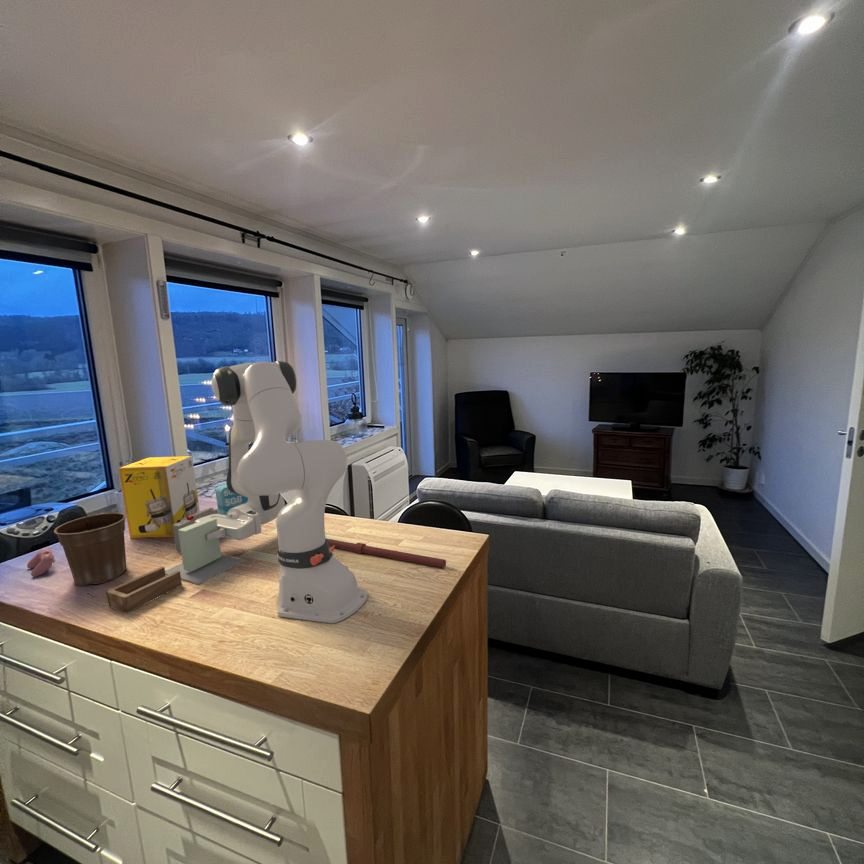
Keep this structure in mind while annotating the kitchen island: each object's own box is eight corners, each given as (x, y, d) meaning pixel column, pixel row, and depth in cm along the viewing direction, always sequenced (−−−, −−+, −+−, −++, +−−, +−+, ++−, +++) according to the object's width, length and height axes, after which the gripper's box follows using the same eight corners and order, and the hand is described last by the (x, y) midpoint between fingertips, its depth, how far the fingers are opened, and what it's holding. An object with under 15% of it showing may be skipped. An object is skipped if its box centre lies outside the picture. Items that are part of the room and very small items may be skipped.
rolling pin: (313, 547, 143) (313, 537, 142) (320, 543, 146) (319, 534, 145) (442, 571, 123) (442, 560, 123) (447, 566, 126) (446, 556, 125)
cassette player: (182, 553, 142) (178, 522, 140) (176, 552, 143) (171, 522, 141) (220, 533, 156) (217, 506, 154) (214, 533, 157) (211, 505, 155)
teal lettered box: (224, 519, 171) (221, 488, 169) (218, 517, 173) (214, 487, 171) (253, 509, 180) (250, 480, 178) (246, 507, 183) (243, 479, 181)
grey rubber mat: (244, 561, 134) (244, 559, 134) (198, 584, 121) (198, 583, 121) (207, 552, 141) (207, 551, 141) (161, 573, 128) (161, 572, 128)
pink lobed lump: (49, 578, 131) (59, 554, 133) (30, 577, 128) (40, 553, 129) (44, 568, 138) (53, 546, 139) (25, 567, 135) (35, 544, 136)
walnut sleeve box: (182, 585, 121) (180, 571, 120) (127, 613, 108) (124, 597, 108) (163, 579, 124) (161, 566, 124) (108, 606, 112) (105, 591, 111)
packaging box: (176, 536, 155) (166, 466, 151) (130, 538, 155) (118, 468, 151) (200, 519, 171) (192, 455, 167) (158, 521, 171) (149, 457, 167)
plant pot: (50, 585, 124) (39, 530, 121) (109, 560, 139) (100, 510, 136) (90, 594, 118) (79, 536, 115) (147, 566, 133) (139, 514, 130)
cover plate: (221, 556, 134) (216, 518, 132) (190, 571, 126) (185, 531, 124) (214, 555, 136) (209, 517, 134) (183, 569, 127) (178, 529, 125)
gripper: (216, 506, 146) (176, 521, 134) (262, 514, 137) (224, 530, 125) (219, 524, 147) (179, 541, 135) (264, 533, 138) (226, 552, 126)
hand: (201, 536), depth 130 cm, fingers closed on cover plate, 3 cm apart
